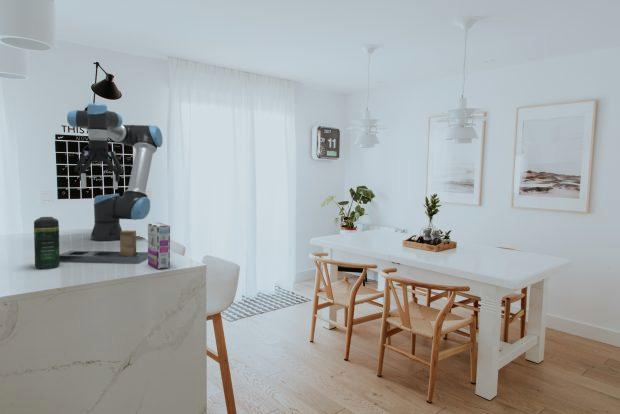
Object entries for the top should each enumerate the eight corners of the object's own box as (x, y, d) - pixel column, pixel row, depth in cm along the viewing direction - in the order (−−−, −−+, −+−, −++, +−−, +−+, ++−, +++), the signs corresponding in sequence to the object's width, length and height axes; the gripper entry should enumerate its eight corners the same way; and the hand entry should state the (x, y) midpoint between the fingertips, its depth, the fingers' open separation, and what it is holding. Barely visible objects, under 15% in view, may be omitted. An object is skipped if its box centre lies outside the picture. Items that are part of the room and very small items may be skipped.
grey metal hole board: (70, 256, 169) (70, 250, 169) (148, 258, 170) (148, 252, 170) (56, 261, 159) (56, 255, 159) (138, 263, 160) (138, 257, 160)
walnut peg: (125, 259, 167) (124, 230, 166) (136, 259, 167) (136, 230, 166) (120, 261, 163) (120, 232, 162) (131, 261, 163) (131, 232, 162)
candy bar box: (170, 268, 155) (170, 225, 153) (157, 269, 152) (157, 226, 150) (160, 262, 163) (159, 222, 162) (147, 264, 160) (147, 222, 159)
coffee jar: (60, 267, 151) (59, 218, 149) (34, 270, 146) (33, 219, 145) (59, 262, 159) (58, 215, 157) (35, 264, 154) (33, 216, 153)
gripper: (63, 138, 172) (66, 188, 175) (124, 140, 174) (125, 189, 176) (73, 139, 180) (75, 187, 182) (130, 141, 181) (131, 188, 184)
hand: (99, 188), depth 179 cm, fingers open, 13 cm apart
